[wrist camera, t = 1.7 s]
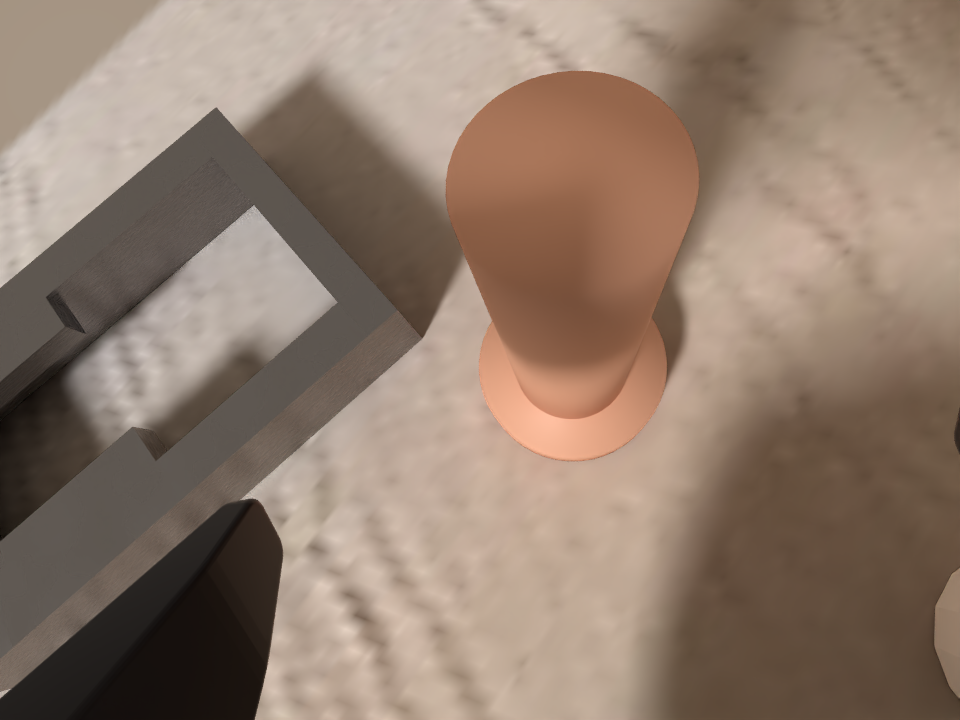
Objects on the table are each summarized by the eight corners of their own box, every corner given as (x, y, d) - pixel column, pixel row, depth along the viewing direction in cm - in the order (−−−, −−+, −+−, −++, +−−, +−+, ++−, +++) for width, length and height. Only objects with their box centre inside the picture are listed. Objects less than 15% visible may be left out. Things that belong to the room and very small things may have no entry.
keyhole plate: (260, 158, 25) (216, 107, 22) (422, 338, 22) (397, 310, 19) (-88, 452, 24) (-186, 444, 21) (34, 680, 21) (-59, 710, 18)
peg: (660, 466, 20) (802, 392, 8) (479, 456, 21) (345, 376, 9) (660, 293, 22) (781, -8, 9) (490, 290, 22) (388, 15, 10)
